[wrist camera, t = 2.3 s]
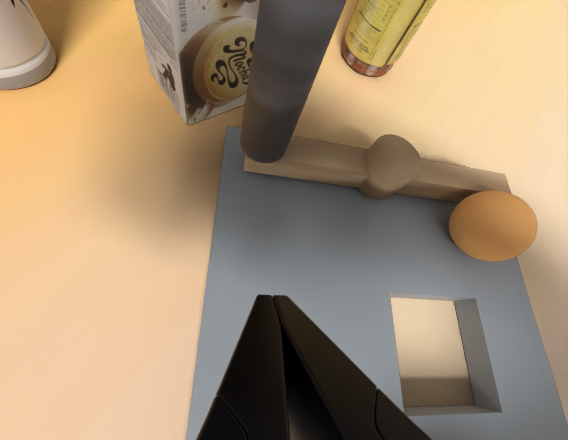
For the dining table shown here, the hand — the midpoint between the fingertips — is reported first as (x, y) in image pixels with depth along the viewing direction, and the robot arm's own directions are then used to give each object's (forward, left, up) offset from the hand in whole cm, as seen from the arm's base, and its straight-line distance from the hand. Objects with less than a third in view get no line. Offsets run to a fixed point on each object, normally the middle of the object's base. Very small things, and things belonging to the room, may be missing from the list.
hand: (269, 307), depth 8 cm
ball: (+7, -17, -6) cm, 19 cm away
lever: (+11, -9, -8) cm, 17 cm away
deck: (+3, -10, -11) cm, 15 cm away
